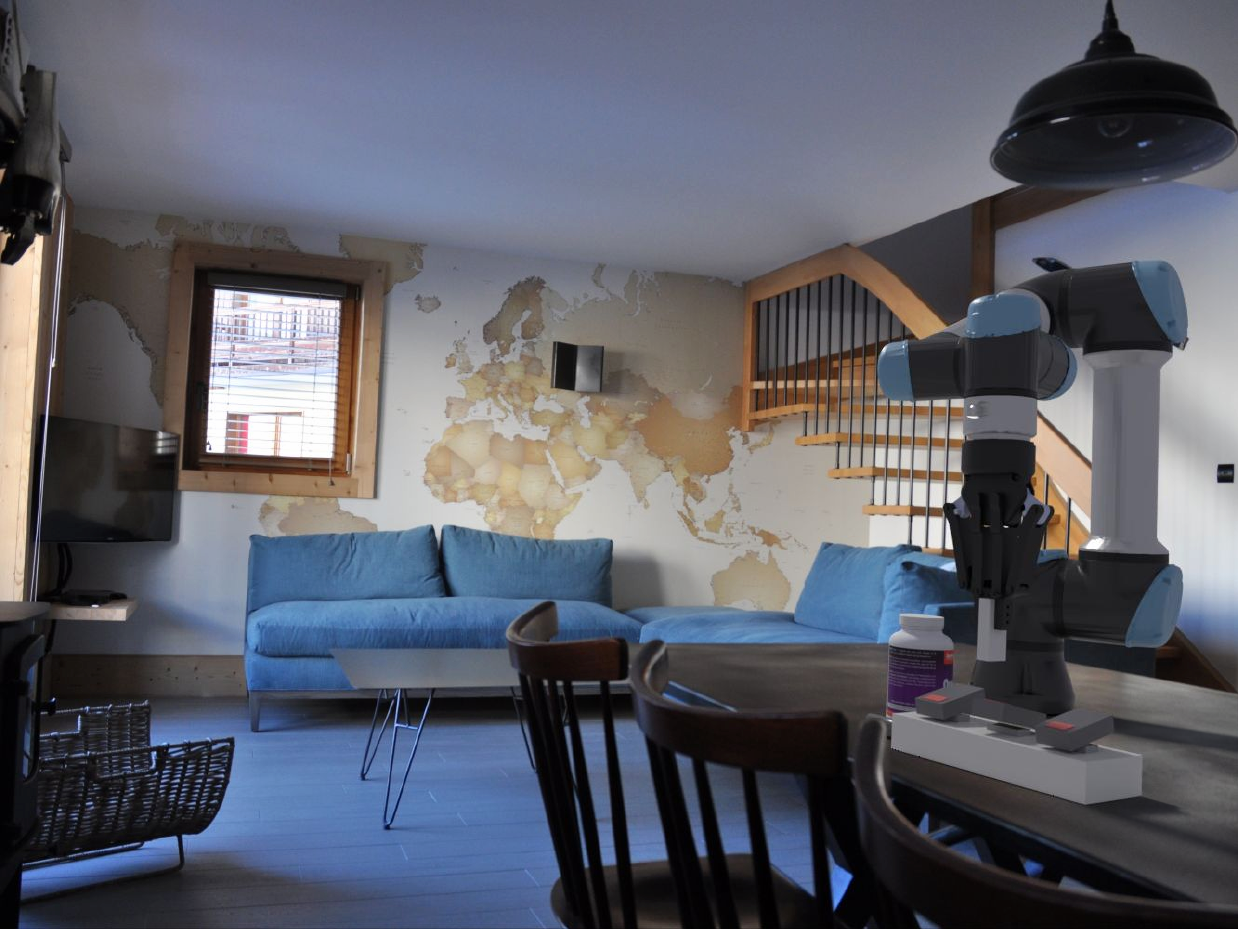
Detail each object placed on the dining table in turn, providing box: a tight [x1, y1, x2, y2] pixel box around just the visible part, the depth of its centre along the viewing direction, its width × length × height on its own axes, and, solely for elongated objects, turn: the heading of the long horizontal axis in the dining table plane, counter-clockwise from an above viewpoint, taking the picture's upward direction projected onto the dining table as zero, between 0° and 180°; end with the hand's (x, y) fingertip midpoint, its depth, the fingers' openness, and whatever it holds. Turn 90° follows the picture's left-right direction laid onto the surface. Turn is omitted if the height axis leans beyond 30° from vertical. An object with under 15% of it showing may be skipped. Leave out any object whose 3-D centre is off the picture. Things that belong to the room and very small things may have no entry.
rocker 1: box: [915, 682, 985, 720], centre depth 120 cm, size 7×4×2 cm, turn 121°
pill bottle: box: [885, 613, 955, 719], centre depth 135 cm, size 8×8×14 cm
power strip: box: [865, 712, 1144, 806], centre depth 117 cm, size 9×33×5 cm, turn 31°
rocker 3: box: [1034, 707, 1115, 751], centre depth 107 cm, size 7×4×2 cm, turn 121°
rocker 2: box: [970, 697, 1047, 730], centre depth 113 cm, size 7×4×2 cm, turn 121°
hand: (991, 660), depth 112 cm, fingers closed
